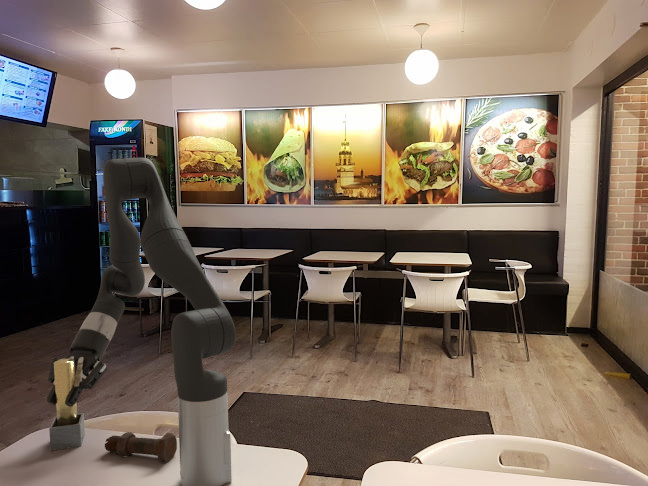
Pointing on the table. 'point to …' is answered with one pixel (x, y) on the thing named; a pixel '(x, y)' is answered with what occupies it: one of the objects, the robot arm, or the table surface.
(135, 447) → the bolt
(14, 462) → the table surface
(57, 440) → the open square box
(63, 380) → the tall amber cylinder
